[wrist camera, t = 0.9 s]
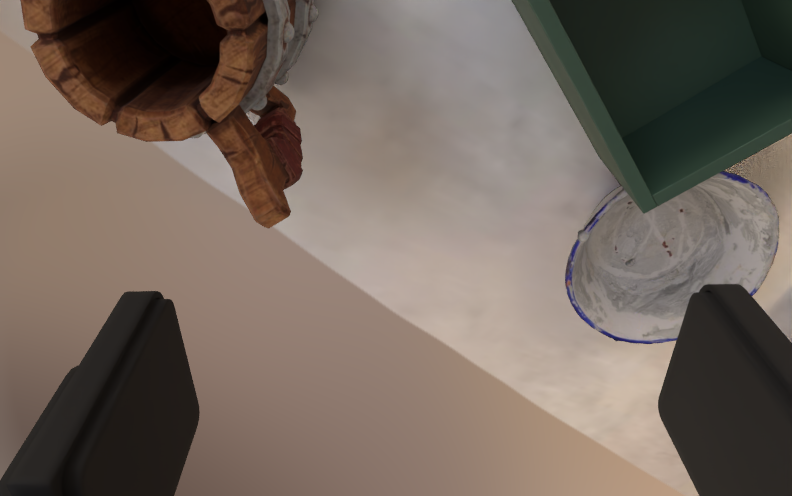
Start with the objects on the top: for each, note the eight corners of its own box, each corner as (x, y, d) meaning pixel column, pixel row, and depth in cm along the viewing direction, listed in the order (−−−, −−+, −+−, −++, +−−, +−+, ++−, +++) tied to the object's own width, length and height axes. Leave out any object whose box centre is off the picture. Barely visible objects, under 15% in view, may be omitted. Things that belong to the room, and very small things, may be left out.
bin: (684, -185, 30) (771, -203, 23) (771, 55, 36) (860, 96, 29) (488, -42, 33) (515, -22, 26) (599, 157, 39) (643, 214, 32)
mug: (215, -216, 29) (153, -185, 17) (375, 37, 37) (405, 171, 26) (38, -71, 32) (-116, 38, 20) (223, 133, 40) (190, 291, 29)
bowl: (536, 303, 45) (552, 346, 41) (568, 137, 38) (590, 169, 34) (709, 306, 45) (742, 348, 41) (769, 142, 39) (815, 174, 35)
